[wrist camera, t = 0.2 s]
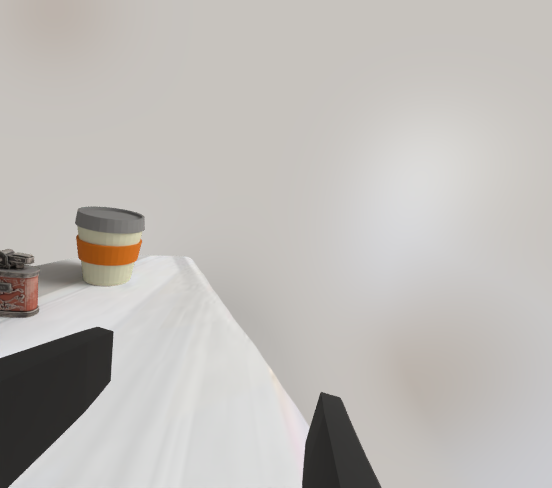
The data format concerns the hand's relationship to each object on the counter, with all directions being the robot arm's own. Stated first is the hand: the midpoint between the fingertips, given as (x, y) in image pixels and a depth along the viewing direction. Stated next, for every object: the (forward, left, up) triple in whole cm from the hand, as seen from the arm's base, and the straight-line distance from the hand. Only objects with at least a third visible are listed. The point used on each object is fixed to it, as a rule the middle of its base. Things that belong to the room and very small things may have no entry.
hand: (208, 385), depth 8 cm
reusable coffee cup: (+43, +38, -21) cm, 61 cm away
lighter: (+25, +40, -21) cm, 52 cm away
